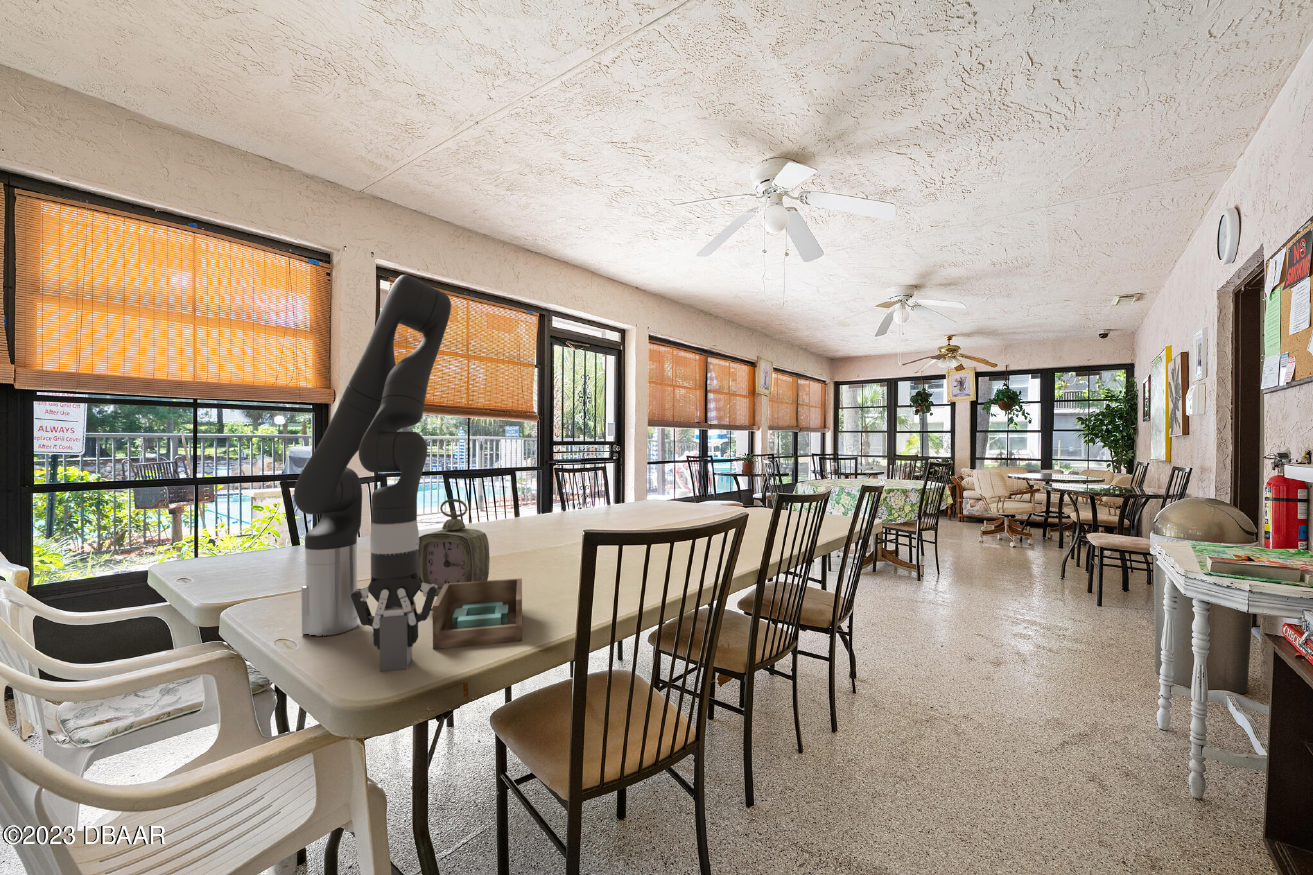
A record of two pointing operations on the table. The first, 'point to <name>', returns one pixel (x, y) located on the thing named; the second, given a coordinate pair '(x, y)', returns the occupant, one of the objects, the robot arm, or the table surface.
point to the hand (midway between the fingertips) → (396, 646)
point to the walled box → (478, 613)
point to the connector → (394, 640)
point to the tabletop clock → (453, 553)
